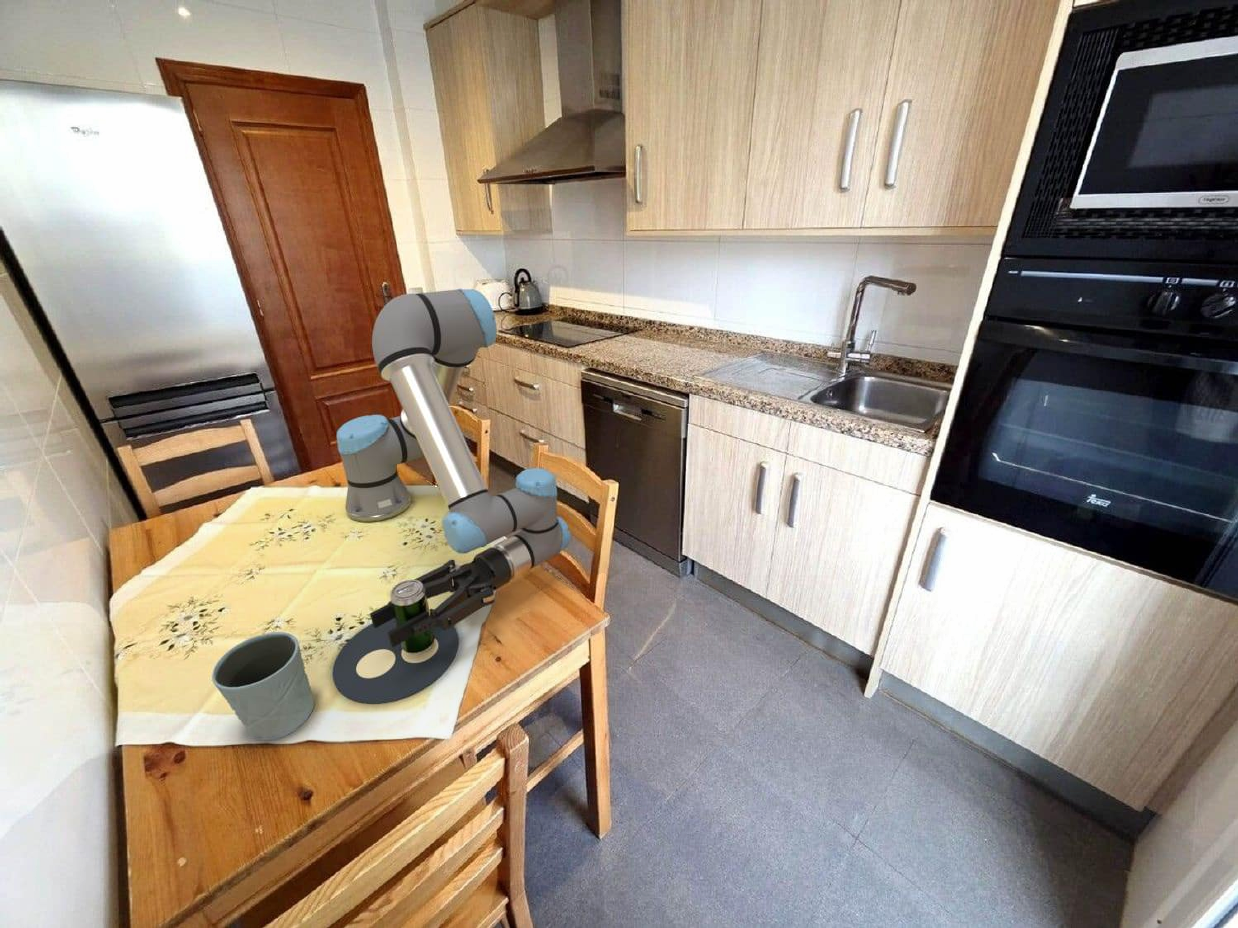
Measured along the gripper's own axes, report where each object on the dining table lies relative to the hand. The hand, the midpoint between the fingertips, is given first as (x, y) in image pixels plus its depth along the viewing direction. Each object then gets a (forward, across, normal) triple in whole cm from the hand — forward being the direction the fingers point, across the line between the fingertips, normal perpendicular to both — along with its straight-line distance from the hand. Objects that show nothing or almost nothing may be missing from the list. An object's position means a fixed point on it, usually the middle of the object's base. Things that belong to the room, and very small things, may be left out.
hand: (381, 630), depth 80 cm
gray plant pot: (+15, +4, -9) cm, 18 cm away
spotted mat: (-2, +2, -8) cm, 9 cm away
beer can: (-5, 0, -7) cm, 9 cm away
